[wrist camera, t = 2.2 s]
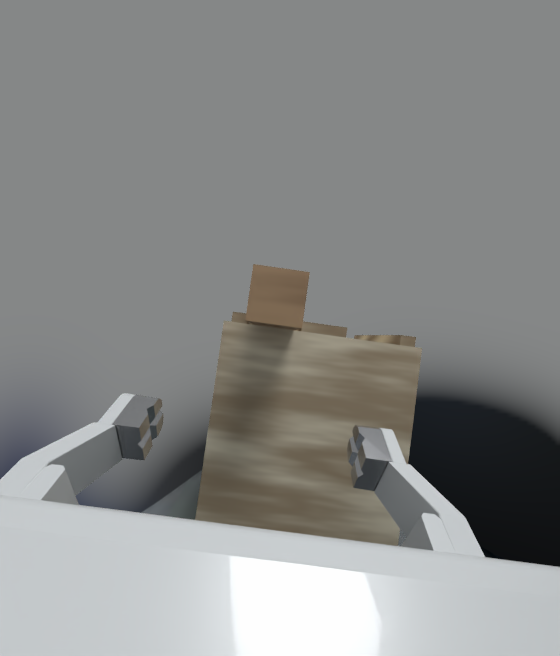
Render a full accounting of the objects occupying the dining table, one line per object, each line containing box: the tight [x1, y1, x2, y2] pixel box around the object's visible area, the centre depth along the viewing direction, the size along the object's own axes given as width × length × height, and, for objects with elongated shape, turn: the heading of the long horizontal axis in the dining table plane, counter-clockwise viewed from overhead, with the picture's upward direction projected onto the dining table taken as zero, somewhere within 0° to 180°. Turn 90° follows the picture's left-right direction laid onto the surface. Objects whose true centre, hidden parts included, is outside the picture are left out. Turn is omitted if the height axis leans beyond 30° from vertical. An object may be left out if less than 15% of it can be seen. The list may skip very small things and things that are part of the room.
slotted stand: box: [195, 312, 422, 546], centre depth 35 cm, size 16×20×27 cm
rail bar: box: [246, 264, 309, 330], centre depth 29 cm, size 20×4×4 cm, turn 1°
